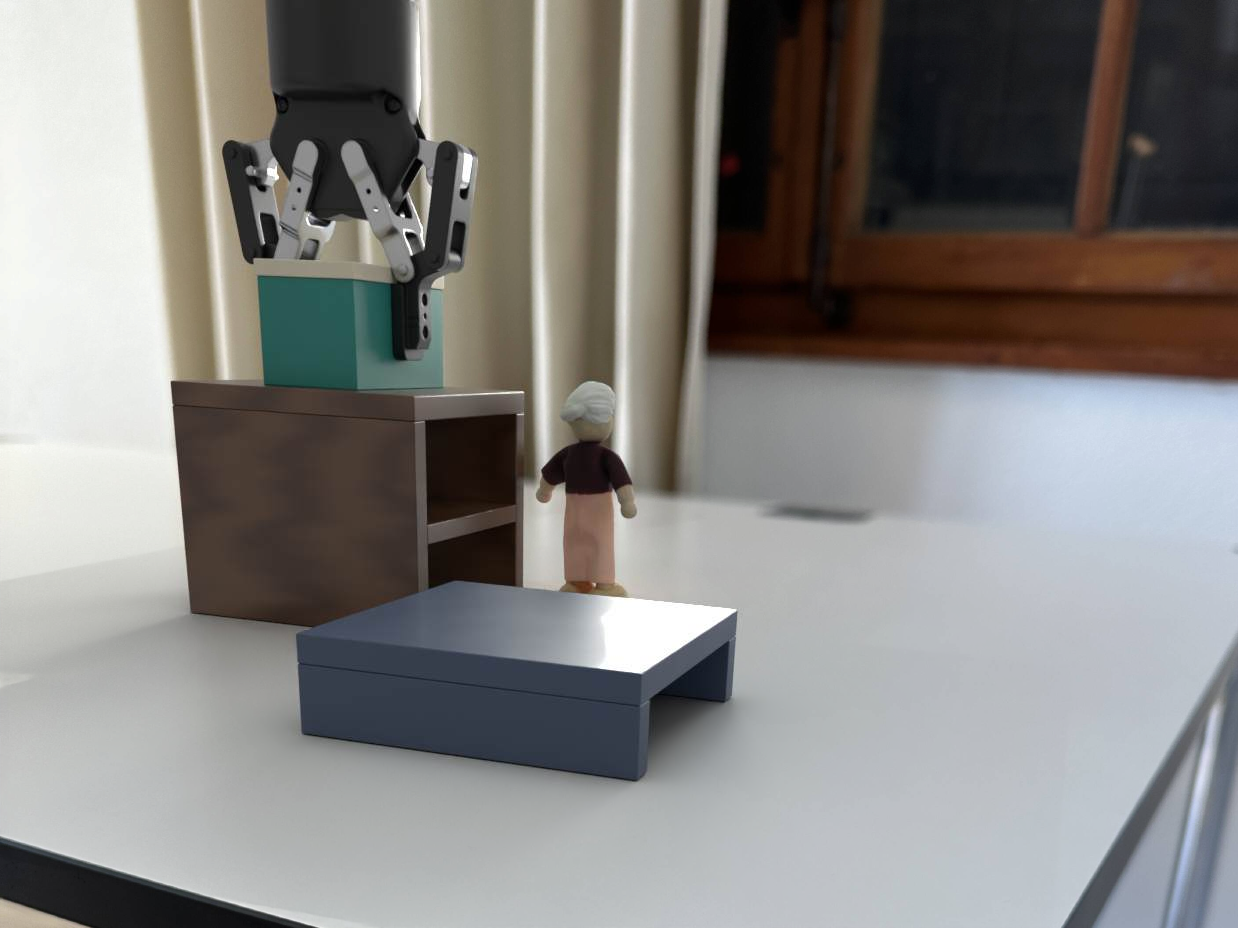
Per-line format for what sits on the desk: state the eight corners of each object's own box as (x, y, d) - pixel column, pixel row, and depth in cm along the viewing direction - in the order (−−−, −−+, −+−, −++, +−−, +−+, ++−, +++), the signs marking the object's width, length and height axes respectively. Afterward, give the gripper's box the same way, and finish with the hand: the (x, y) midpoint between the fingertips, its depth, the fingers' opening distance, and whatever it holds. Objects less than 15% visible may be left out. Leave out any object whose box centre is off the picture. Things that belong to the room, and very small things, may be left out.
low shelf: (301, 733, 52) (295, 632, 50) (455, 662, 64) (454, 580, 63) (637, 781, 48) (641, 673, 47) (732, 696, 61) (738, 609, 59)
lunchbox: (260, 384, 69) (252, 258, 66) (358, 382, 78) (354, 271, 75) (358, 390, 67) (353, 261, 65) (446, 388, 76) (444, 274, 74)
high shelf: (190, 612, 72) (169, 380, 68) (323, 576, 85) (313, 378, 80) (419, 639, 69) (413, 396, 64) (523, 597, 81) (525, 391, 77)
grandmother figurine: (653, 597, 83) (662, 384, 79) (626, 606, 80) (634, 385, 75) (547, 583, 86) (550, 377, 81) (517, 592, 83) (518, 377, 78)
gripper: (505, 10, 67) (505, 364, 73) (259, 15, 71) (279, 352, 77) (439, -30, 60) (445, 364, 67) (171, -21, 64) (201, 351, 70)
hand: (356, 356), depth 72 cm, fingers closed on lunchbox, 5 cm apart
